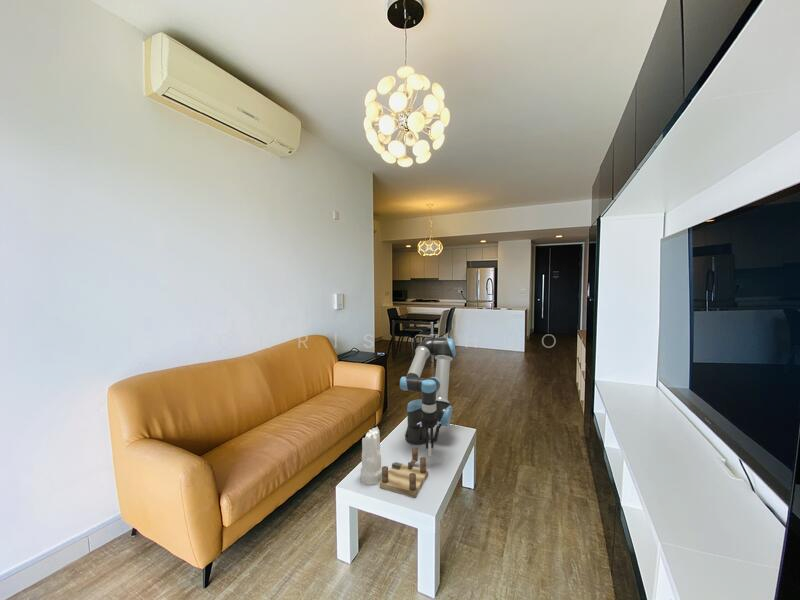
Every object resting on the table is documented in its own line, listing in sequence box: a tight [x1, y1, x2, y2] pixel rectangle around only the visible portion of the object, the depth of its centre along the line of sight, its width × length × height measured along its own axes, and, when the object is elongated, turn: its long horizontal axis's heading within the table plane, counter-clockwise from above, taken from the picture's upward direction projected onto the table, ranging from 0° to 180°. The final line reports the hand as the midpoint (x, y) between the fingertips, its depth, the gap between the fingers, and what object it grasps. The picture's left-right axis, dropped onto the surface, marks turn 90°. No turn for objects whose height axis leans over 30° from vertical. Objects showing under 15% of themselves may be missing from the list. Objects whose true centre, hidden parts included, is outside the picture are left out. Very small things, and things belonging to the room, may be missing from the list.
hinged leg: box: [407, 447, 419, 469], centre depth 162 cm, size 10×3×6 cm, turn 156°
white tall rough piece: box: [360, 426, 383, 486], centre depth 155 cm, size 11×11×25 cm
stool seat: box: [379, 456, 429, 498], centre depth 153 cm, size 18×18×9 cm
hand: (429, 454), depth 165 cm, fingers closed
